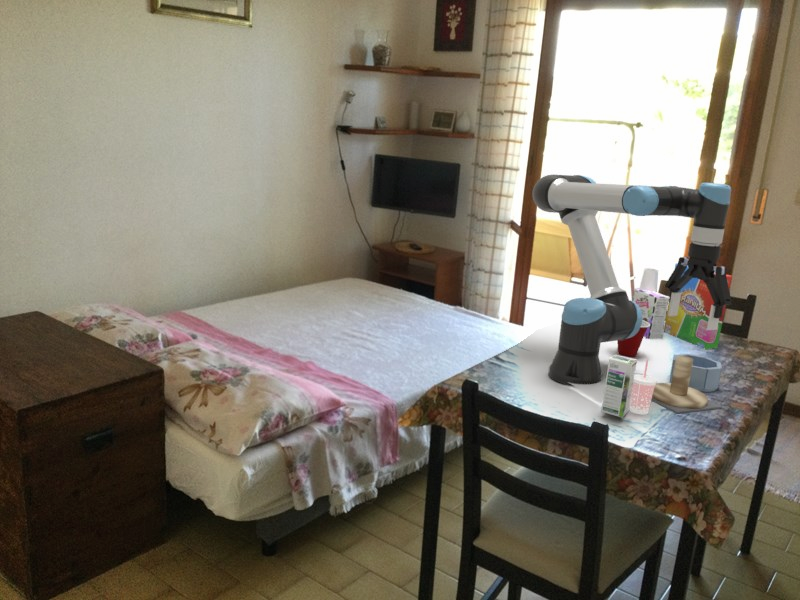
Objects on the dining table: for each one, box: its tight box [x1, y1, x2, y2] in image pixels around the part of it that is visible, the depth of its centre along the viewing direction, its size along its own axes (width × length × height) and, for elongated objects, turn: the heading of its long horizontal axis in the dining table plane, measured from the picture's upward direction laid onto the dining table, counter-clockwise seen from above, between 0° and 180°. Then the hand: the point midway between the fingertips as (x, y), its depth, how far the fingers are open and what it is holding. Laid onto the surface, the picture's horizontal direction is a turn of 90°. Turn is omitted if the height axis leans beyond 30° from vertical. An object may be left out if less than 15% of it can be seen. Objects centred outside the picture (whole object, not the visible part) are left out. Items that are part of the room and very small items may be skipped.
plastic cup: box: [617, 320, 650, 358], centre depth 222 cm, size 11×11×12 cm
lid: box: [652, 356, 709, 409], centre depth 184 cm, size 15×15×12 cm
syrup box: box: [600, 354, 638, 419], centre depth 172 cm, size 6×6×14 cm
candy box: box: [632, 287, 670, 340], centre depth 247 cm, size 14×6×16 cm, turn 12°
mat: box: [651, 398, 723, 415], centre depth 186 cm, size 16×16×1 cm
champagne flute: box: [639, 267, 659, 292], centre depth 250 cm, size 7×7×24 cm
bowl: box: [669, 353, 723, 393], centre depth 199 cm, size 13×13×7 cm
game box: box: [663, 262, 733, 350], centre depth 240 cm, size 21×6×27 cm, turn 23°
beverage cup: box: [629, 359, 658, 416], centre depth 174 cm, size 6×6×14 cm
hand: (691, 322), depth 181 cm, fingers open, 13 cm apart
